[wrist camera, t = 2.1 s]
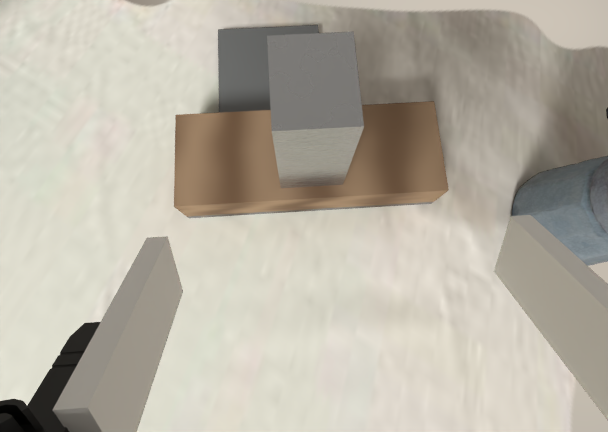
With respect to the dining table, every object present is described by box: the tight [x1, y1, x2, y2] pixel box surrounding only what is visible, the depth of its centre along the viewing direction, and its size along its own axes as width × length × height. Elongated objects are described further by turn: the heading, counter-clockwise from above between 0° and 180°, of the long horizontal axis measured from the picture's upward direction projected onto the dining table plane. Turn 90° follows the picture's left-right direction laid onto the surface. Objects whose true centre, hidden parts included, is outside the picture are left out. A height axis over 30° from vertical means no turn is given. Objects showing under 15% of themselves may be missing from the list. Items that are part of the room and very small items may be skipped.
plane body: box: [174, 101, 448, 218], centre depth 32 cm, size 22×8×4 cm, turn 94°
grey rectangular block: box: [267, 32, 364, 188], centre depth 25 cm, size 6×5×10 cm
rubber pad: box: [218, 25, 319, 113], centre depth 36 cm, size 10×10×1 cm
